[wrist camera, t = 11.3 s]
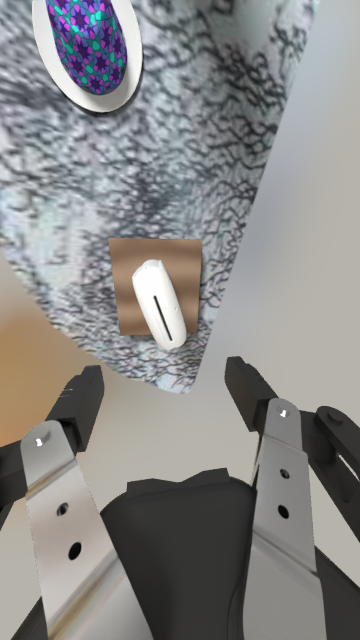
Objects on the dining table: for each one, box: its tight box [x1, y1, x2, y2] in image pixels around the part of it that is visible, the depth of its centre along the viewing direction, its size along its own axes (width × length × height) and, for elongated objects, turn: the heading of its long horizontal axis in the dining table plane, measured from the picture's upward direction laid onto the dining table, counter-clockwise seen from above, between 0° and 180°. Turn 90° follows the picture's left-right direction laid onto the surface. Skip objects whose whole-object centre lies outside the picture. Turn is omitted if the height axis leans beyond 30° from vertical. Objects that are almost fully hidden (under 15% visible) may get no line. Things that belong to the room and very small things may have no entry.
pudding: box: [32, 0, 142, 112], centre depth 20 cm, size 12×12×5 cm
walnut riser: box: [108, 238, 202, 336], centre depth 32 cm, size 16×14×4 cm
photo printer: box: [132, 260, 186, 350], centre depth 25 cm, size 10×4×12 cm, turn 17°
